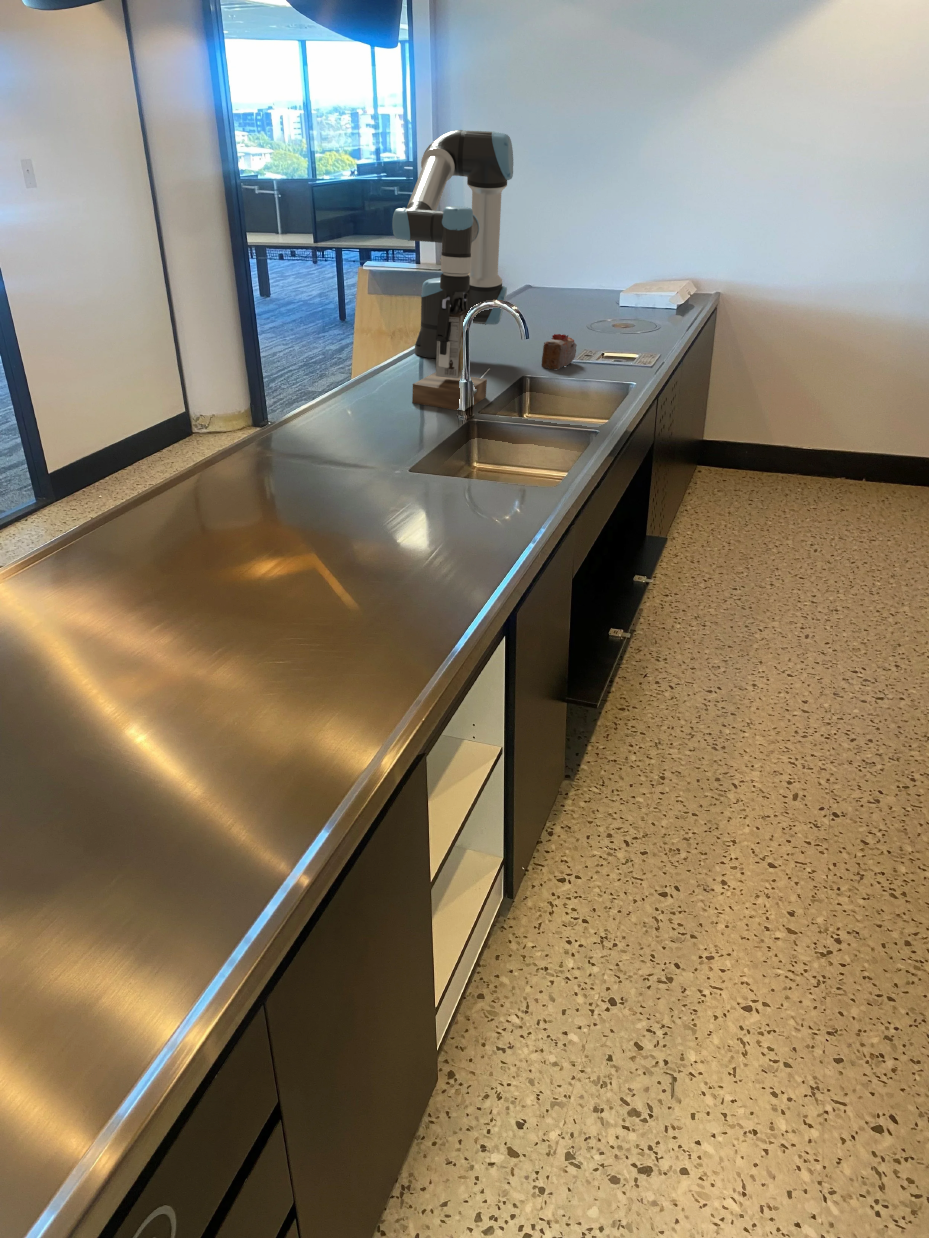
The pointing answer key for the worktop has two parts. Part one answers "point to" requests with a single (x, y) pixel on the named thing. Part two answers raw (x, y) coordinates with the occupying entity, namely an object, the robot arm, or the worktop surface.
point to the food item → (558, 352)
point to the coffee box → (453, 347)
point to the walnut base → (444, 391)
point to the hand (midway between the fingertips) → (451, 362)
